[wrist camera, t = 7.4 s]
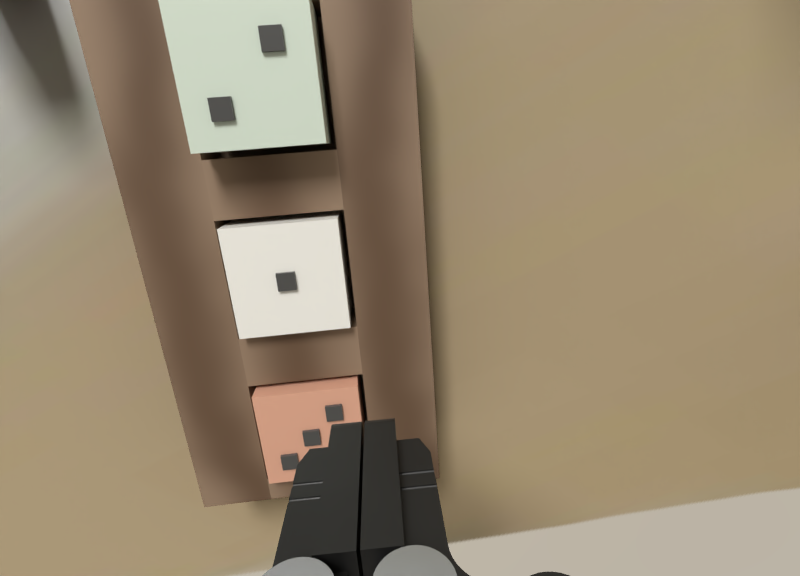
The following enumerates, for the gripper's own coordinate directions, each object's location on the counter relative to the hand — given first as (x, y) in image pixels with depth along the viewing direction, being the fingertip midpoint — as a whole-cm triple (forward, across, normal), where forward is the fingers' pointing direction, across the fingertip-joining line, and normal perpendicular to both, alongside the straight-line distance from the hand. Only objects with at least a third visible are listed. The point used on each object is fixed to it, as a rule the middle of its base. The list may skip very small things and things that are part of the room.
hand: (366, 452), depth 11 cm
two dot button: (+14, +4, -10) cm, 18 cm away
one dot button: (+16, +4, -1) cm, 16 cm away
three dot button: (+16, +4, +8) cm, 18 cm away
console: (+18, +4, -1) cm, 18 cm away
